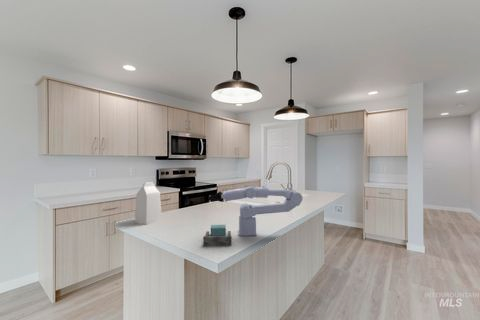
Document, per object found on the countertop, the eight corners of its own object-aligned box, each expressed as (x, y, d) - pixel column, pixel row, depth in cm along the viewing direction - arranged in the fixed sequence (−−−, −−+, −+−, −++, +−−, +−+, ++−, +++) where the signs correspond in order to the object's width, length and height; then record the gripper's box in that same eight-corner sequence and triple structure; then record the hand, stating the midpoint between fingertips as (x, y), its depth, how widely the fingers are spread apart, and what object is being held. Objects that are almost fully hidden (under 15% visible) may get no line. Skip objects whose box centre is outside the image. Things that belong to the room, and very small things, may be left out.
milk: (146, 224, 140) (146, 183, 139) (134, 222, 145) (134, 182, 145) (161, 220, 150) (161, 181, 150) (150, 218, 156) (150, 181, 156)
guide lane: (230, 233, 124) (230, 225, 124) (231, 245, 106) (231, 237, 106) (206, 233, 123) (206, 226, 123) (203, 246, 105) (203, 237, 105)
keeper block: (225, 233, 124) (225, 224, 124) (225, 237, 118) (225, 227, 118) (211, 233, 124) (211, 224, 124) (210, 237, 118) (210, 228, 118)
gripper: (233, 188, 132) (210, 192, 131) (231, 186, 117) (206, 191, 117) (235, 200, 130) (212, 204, 130) (233, 200, 116) (208, 204, 116)
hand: (209, 198), depth 124 cm, fingers open, 7 cm apart
